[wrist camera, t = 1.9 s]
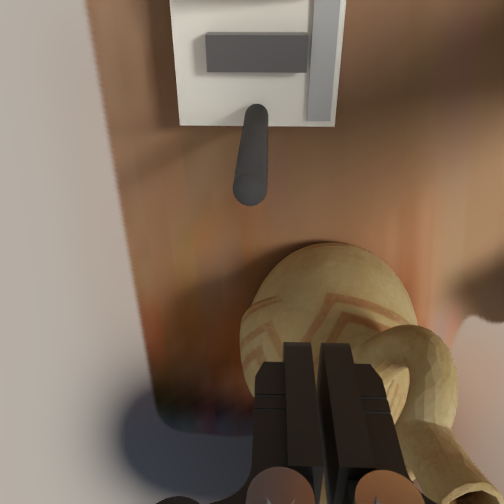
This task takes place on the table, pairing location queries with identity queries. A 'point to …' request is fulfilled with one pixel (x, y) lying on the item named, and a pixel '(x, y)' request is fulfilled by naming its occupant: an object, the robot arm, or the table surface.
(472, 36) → the table surface
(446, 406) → the ceramic vessel
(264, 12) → the breaker board
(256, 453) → the robot arm
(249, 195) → the dark grey rod
